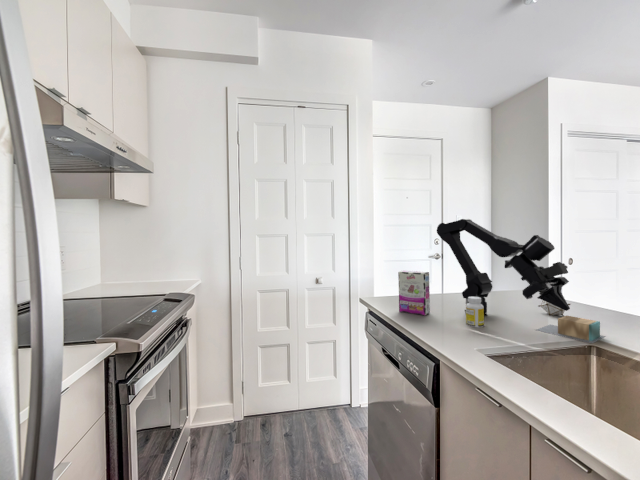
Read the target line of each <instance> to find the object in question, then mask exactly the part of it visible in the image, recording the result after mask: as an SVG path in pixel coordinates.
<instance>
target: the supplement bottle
mask: <svg viewBox="0 0 640 480" xmlns="http://www.w3.org/2000/svg"><path fill="white" fill-rule="evenodd" d="M468 302H469V303H467V304H466V303H465V310H466V312H465V324H466V325H467V326H469V327H472V328H483V327H484V326H485V315H484V306H483V305H482V304H481V298H480V297H468Z"/></svg>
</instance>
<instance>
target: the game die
mask: <svg viewBox="0 0 640 480" xmlns="http://www.w3.org/2000/svg"><path fill="white" fill-rule="evenodd" d="M567 304H568V306H571V304H572V303H567ZM540 307H541V308H542V309H543V310H544V311H545V312H546V313H547V314H548V316H561V317H564V316H565V315H564V313H565V312H566V311H565V310H563V309H561V308H559V307H557V306H555V305H553V304H551V303H548V302H546V301H544V300H542V302H541V303H540V304H539V305H538V308H540Z"/></svg>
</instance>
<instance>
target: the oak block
mask: <svg viewBox="0 0 640 480" xmlns="http://www.w3.org/2000/svg"><path fill="white" fill-rule="evenodd" d="M557 326H558V333H559V334H563V335H568V336H572V337H576V338H581V339H585V340H589V341H593V340H595V339H597V338H599V337H600V335H601V322H600V320H593V319H588V318H582V317H578V316H577V317H576V316H572V315H564V316H561V317H558V318H557Z"/></svg>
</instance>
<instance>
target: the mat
mask: <svg viewBox="0 0 640 480" xmlns="http://www.w3.org/2000/svg"><path fill="white" fill-rule="evenodd" d="M535 331H537V332H542V333H547V334H551V335H554V336H555V335H556V336H557V337H558V336H559V337H563V338H567V339H571V340H576V341H580V342H584V343H589V344H594V343H596V342H598V341H600V340H601V339H603V338H605V337H606V335H602V334H600V337H599V338H597V339H595V340H593V341H589V340H585V339H581V338H576V337H572V336H568V335H563V334H559V333H558V325H554V324H547V325H544V326H542V327H539V328H536V329H535Z"/></svg>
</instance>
